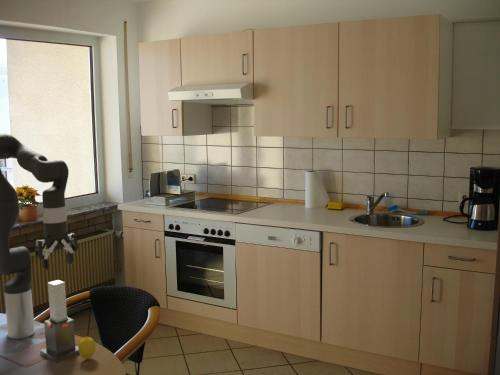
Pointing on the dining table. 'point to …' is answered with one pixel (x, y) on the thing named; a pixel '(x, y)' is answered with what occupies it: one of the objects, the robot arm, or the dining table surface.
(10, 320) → the robot arm
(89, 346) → the lemon
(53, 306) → the column
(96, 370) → the dining table surface
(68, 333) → the stand base
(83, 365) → the dining table surface
